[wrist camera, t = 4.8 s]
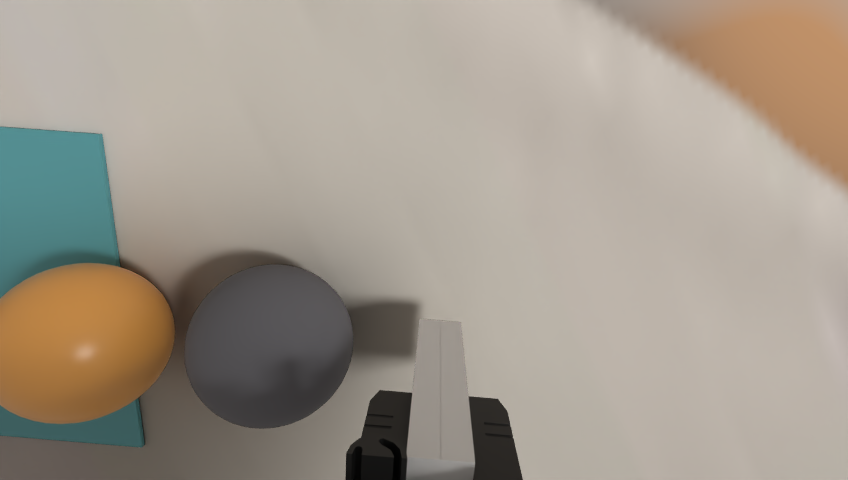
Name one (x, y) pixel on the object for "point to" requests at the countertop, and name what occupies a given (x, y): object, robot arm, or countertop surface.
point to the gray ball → (268, 346)
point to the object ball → (81, 342)
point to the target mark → (58, 245)
